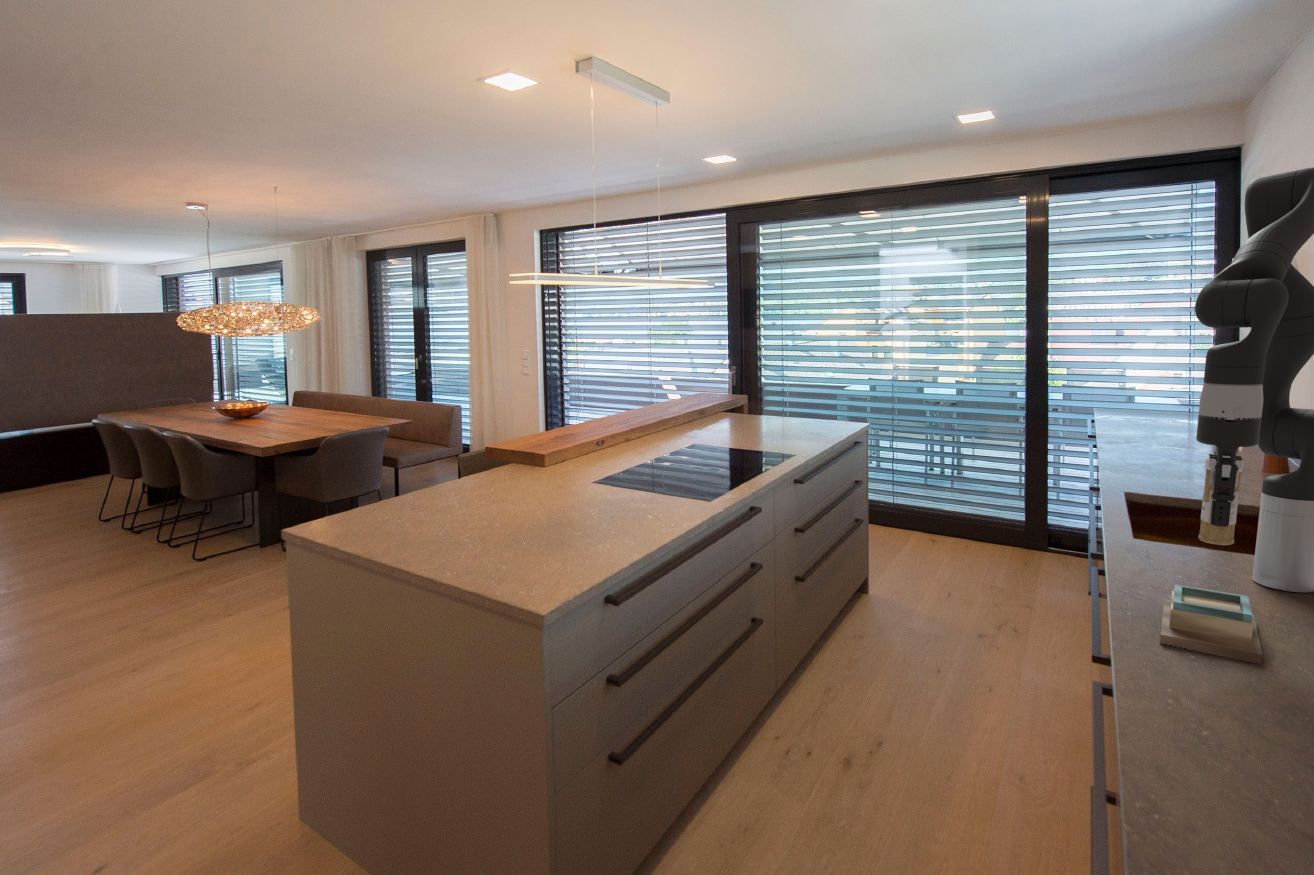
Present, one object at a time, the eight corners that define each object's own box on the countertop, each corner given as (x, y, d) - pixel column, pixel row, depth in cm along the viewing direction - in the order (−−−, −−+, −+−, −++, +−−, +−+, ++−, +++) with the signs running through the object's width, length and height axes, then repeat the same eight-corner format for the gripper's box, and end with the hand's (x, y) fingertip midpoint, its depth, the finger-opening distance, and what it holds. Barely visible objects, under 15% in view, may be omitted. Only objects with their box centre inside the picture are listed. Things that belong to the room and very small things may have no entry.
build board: (1163, 606, 124) (1166, 575, 123) (1252, 622, 116) (1256, 589, 116) (1159, 643, 109) (1163, 608, 109) (1261, 664, 102) (1265, 626, 101)
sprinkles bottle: (1199, 536, 114) (1207, 454, 112) (1236, 541, 111) (1244, 457, 109) (1196, 542, 111) (1204, 458, 109) (1233, 548, 108) (1242, 461, 106)
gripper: (1198, 407, 116) (1188, 509, 118) (1199, 416, 104) (1188, 529, 107) (1258, 409, 111) (1247, 515, 114) (1265, 419, 100) (1253, 536, 102)
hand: (1218, 521), depth 110 cm, fingers closed on sprinkles bottle, 4 cm apart
